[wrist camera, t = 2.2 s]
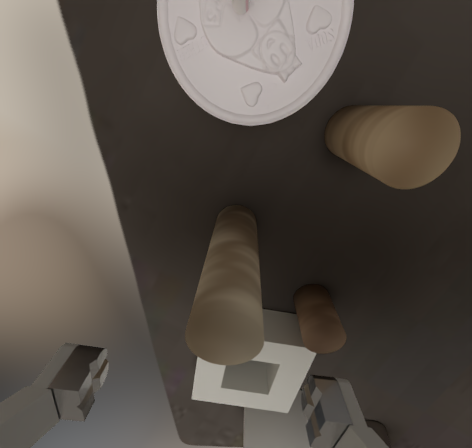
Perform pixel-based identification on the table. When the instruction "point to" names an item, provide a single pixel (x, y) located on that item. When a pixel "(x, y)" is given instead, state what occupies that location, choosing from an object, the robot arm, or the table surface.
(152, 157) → the table surface
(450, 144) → the oak pin
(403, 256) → the table surface
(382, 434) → the beer glass
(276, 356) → the socket block
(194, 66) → the smoothie
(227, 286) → the maple pin
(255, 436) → the container
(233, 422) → the table surface
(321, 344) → the walnut pin
